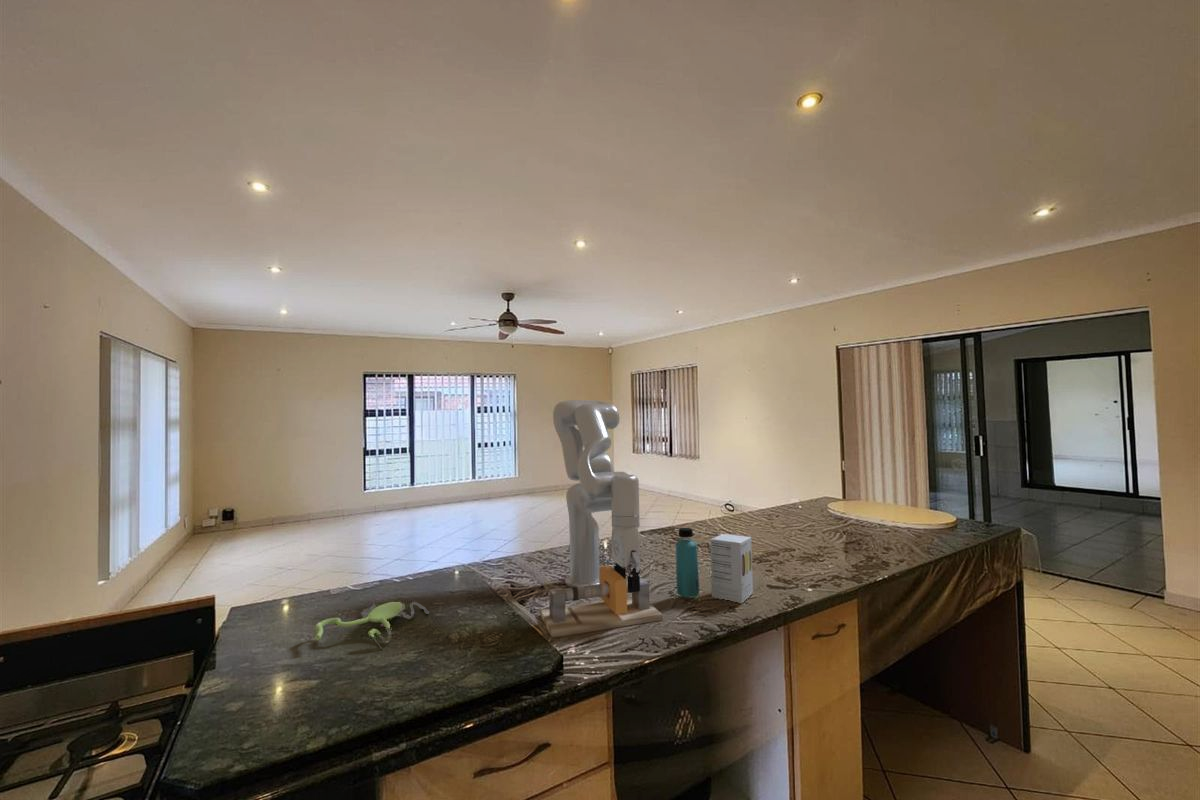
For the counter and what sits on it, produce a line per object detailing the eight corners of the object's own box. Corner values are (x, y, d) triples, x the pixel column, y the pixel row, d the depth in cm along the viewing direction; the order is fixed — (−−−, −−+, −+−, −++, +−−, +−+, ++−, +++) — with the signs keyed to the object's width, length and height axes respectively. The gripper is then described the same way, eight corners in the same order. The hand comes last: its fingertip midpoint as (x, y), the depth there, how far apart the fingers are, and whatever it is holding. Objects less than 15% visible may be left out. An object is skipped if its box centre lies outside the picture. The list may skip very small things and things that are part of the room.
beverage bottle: (699, 603, 129) (697, 531, 130) (675, 602, 130) (674, 530, 131) (699, 595, 135) (697, 526, 136) (676, 593, 136) (675, 525, 138)
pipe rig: (540, 615, 122) (540, 582, 123) (640, 601, 131) (640, 570, 132) (551, 637, 109) (551, 600, 109) (662, 620, 118) (661, 585, 118)
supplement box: (742, 605, 127) (740, 543, 128) (711, 598, 133) (709, 538, 134) (753, 594, 135) (751, 536, 136) (723, 588, 140) (722, 532, 141)
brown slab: (599, 596, 127) (599, 567, 127) (609, 595, 128) (609, 565, 128) (615, 614, 115) (615, 581, 115) (627, 612, 116) (626, 580, 116)
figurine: (300, 654, 104) (300, 628, 104) (375, 608, 130) (376, 587, 130) (374, 659, 101) (374, 633, 101) (436, 611, 127) (436, 590, 127)
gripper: (602, 516, 131) (602, 577, 130) (624, 528, 114) (625, 598, 113) (626, 514, 133) (627, 574, 132) (651, 526, 117) (653, 594, 116)
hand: (626, 585), depth 123 cm, fingers open, 9 cm apart
